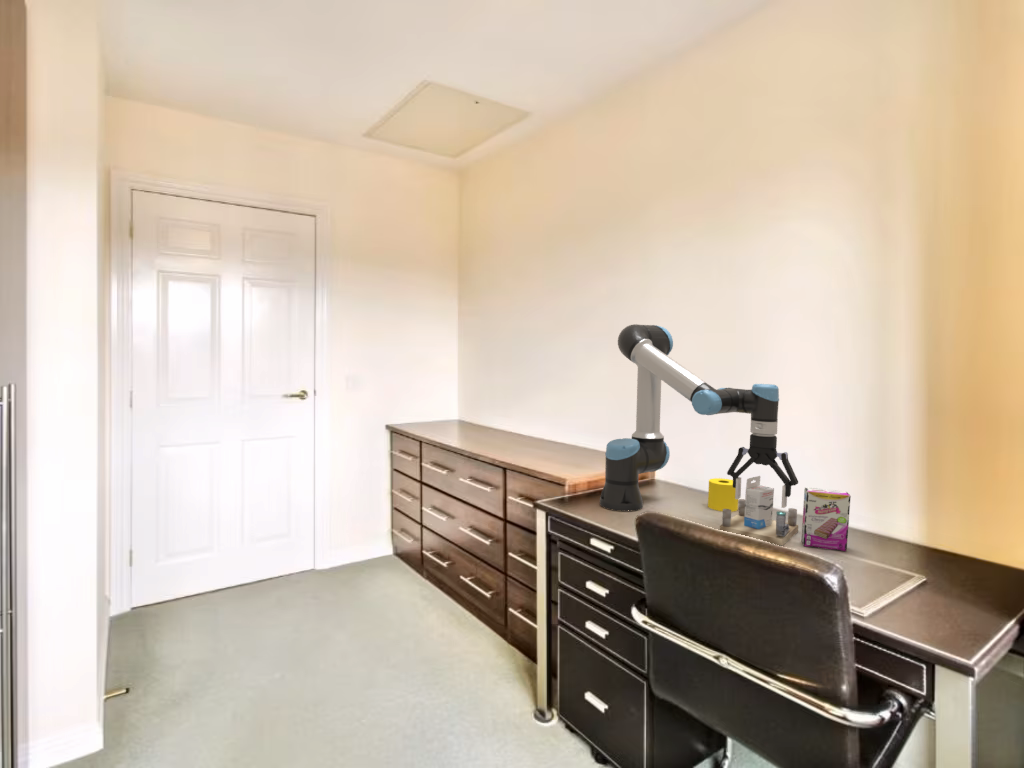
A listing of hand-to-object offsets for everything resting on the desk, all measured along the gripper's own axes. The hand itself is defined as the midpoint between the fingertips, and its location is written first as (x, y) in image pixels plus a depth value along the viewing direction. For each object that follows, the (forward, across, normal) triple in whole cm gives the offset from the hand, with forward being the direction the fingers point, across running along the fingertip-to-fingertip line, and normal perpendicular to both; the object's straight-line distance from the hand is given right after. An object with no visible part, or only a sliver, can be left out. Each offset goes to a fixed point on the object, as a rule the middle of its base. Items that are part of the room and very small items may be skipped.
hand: (760, 502), depth 172 cm
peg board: (+9, 0, 0) cm, 9 cm away
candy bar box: (+9, +18, -1) cm, 20 cm away
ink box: (+7, 0, 0) cm, 7 cm away
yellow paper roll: (+10, -18, +19) cm, 28 cm away
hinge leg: (+7, +8, -4) cm, 11 cm away
